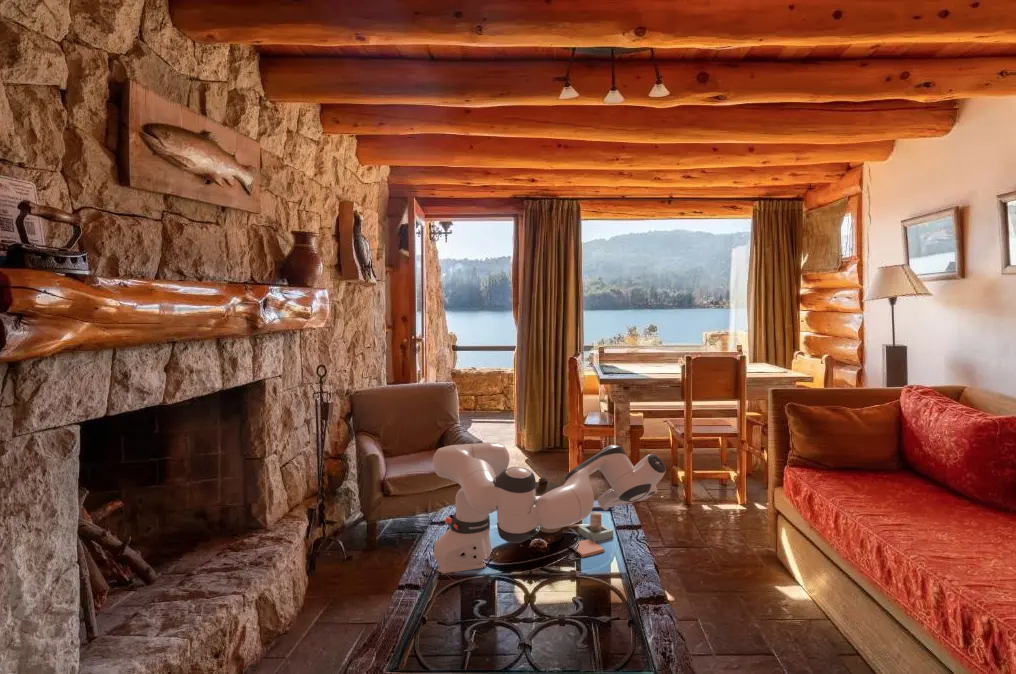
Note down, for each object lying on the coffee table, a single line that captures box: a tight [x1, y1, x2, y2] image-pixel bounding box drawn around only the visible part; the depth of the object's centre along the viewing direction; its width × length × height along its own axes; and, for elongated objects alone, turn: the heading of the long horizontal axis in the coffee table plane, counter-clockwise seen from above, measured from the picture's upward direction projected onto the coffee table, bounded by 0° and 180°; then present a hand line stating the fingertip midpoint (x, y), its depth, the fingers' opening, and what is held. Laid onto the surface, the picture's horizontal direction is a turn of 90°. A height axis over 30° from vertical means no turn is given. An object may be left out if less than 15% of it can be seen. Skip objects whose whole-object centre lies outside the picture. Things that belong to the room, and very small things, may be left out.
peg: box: [589, 511, 602, 533], centre depth 223 cm, size 4×4×8 cm
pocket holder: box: [578, 523, 614, 543], centre depth 223 cm, size 9×9×2 cm
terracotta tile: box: [577, 538, 605, 558], centre depth 212 cm, size 9×9×1 cm
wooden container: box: [534, 476, 565, 537], centre depth 222 cm, size 15×15×22 cm
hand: (615, 505), depth 212 cm, fingers open, 8 cm apart
